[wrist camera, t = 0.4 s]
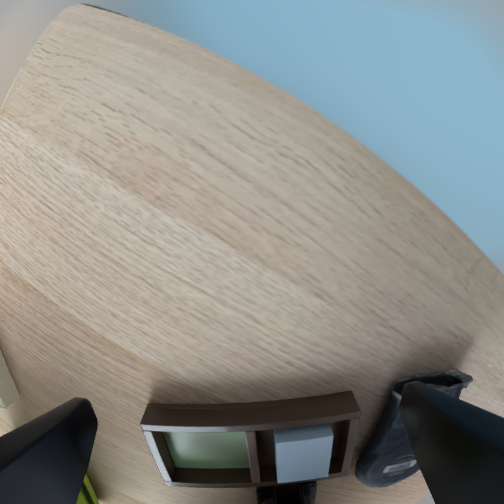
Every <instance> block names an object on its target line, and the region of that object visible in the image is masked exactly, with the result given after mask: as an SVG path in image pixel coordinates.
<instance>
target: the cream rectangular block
mask: <svg viewBox="0 0 504 504" xmlns="http://www.w3.org/2000/svg"><path fill="white" fill-rule="evenodd" d="M18 395H19V392H18V389H17V387H16V385H15V383H14V381H13V378H12V376H11V374H10V371H9V369H8V367H7V364H6V362H5V359H4V357H3V354H2V351H1V349H0V407H2V408H6V409H7V407H8V406H9V405H10V404H11V403H12V402H13V401H14V400H15V398H16V397H17V396H18Z"/></svg>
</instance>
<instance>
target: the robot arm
mask: <svg viewBox="0 0 504 504" xmlns="http://www.w3.org/2000/svg"><path fill="white" fill-rule="evenodd" d="M399 412H400V415H401V418H402V421H403V424H404V427H405V430H406V433H407V436H408V439H409V443H410V446H411V449H412V452H413V454H414V456H415V459H416V461H417V463H418V465H419V468H420V470H421V472H422V474H423V477H424V479H425V481H426V483H427V486H428V488H429V490H430V492H431V495H432V497H433V499H434V502H435V504H504V418H503V417H500V416H498V415H495V414H493V413H491V412H488V411H486V410H483V409H481V408H479V407H476V406H474V405H472V404H469V403H467V402H465V401H462V400H460V399H458V398H455V397H453V396H451V395H449V394H446V393H444V392H442V391H440V390H437V389H435V388H433V387H431V386H428V385H426V384H424V383H422V382H419V381H415V382H411V383H407V384H405V386H404V388H403V392H402V396H401V400H400V404H399ZM97 427H98V421H97V418H96V415H95V413H94V410H93V408H92V405H91V403H90V401H89V400H88V399H86V398H79V397H75V398H73V399H71V400H70V401H68V402H66V403H64V404H62V405H60V406H58V407H57V408H55V409H53V410H51V411H49V412H47V413H45V414H44V415H42V416H40V417H38V418H36V419H34V420H32V421H30V422H28V423H26V424H24V425H23V426H21V427H19V428H17V429H15V430H13V431H11V432H9V433H7V434H5V435H3V436H1V437H0V504H76V502H77V499H78V495H79V492H80V489H81V486H82V483H83V480H84V478H85V475H86V472H87V468H88V465H89V461H90V457H91V453H92V448H93V444H94V440H95V435H96V431H97ZM316 489H317V483H316V481H311V482H303V483H295V484H286V485H276V486H263V487H257V488H256V492H257V500H258V504H314V503H315V496H316Z"/></svg>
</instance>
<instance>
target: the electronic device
mask: <svg viewBox="0 0 504 504" xmlns="http://www.w3.org/2000/svg"><path fill="white" fill-rule="evenodd" d="M415 381H419V382H422V383H424V384H426V385H428V386H431V387H433V388H435V389H437V390H440V391H442V392H444V393H446V394H449V395H451V396H453V397H455V398H458V399H459V396H460V393H461V390H462V388H467V386H468V385H469V383H470V382H472V381H473V378H472V376H470V375H467V374H465V373H463V372H461V371H459V370H457V369H451V370H447V371H443V372H439V373H432V374H426V375H416V376H409V377H404V378H401V379H399V380H398V381H397V382H396V383H395V384H394V386H393V387H392V390H391V393H390V396H389V399H388V402H387V404H386V407H385V409H384V412H383V414H382V417H381V419H380V421H379V423H378V425H377V428H376V431H375V433H374V434H373V437H372V439H371V442H370V444H369V446H368V447H367V448H366V449H365V451H364V452H363V453H362V454H361V456H360V458H359V460H358V461H357V464H356V470H355V476H356V478H357V479H358V480H359V481H360V482H361V483H363V484H366V485H367V486H371V487H386V486H389V485H392V484H395V483H397V482H399V481H401V480H403V479H405V478H407V477H409V476H411V475H413V474H414V473H416V472H417V471H418V470H419V469H420V468H419V465H418V463H417V461H416V459H415V456H414V454H413V452H412V449H411V446H410V443H409V439H408V436H407V433H406V430H405V427H404V424H403V421H402V418H401V415H400V412H399V404H400V400H401V396H402V392H403V388H404V386H405V384H407V383H411V382H415Z"/></svg>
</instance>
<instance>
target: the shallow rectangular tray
mask: <svg viewBox="0 0 504 504" xmlns="http://www.w3.org/2000/svg"><path fill="white" fill-rule="evenodd" d="M360 413H361V410H360V408H359V406H358V404H357V401H356V399H355V397H354V395H353V393H352V391H348V392H342V393H335V394H329V395H322V396H314V397H307V398H298V399H289V400H279V401H268V402H254V403H237V404H205V405H179V404H148V405H147V407H146V410H145V413H144V415H143V418H142V420H141V423H140V425H141V428H142V430H143V433H144V436H145V438H146V441H147V443H148V446H149V448H150V450H151V453H152V455H153V457H154V460H155V462H156V464H157V466H158V469H159V471H160V473H161V475H162V477H163V479H164V481H165V484H166V485H167V486H179V487H198V488H243V487H263V486H276V485H286V484H295V483H303V482H311V481H317V480H324V479H330V478H335V477H341V476H346V475H348V474H349V470H350V465H351V461H352V456H353V451H354V447H355V442H356V436H357V431H358V426H359V420H360ZM325 423H330V426H331V429H332V432H333V444H332V451H331V458H330V465H329V472H328V477H323V478H317V479H310V480H303V481H295V482H286V483H278V482H277V473H276V463H275V445H274V430H275V429H286V428H295V427H303V426H311V425H318V424H325Z"/></svg>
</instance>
